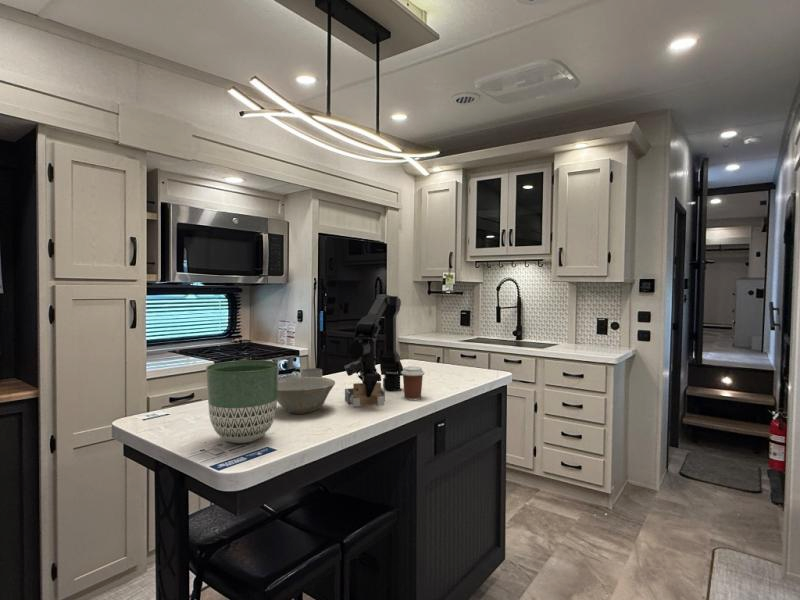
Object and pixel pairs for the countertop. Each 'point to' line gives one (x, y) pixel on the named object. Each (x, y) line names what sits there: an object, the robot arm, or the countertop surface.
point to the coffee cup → (412, 382)
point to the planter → (242, 398)
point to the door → (360, 392)
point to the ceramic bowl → (303, 393)
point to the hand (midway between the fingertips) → (367, 396)
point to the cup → (311, 372)
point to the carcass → (356, 401)
